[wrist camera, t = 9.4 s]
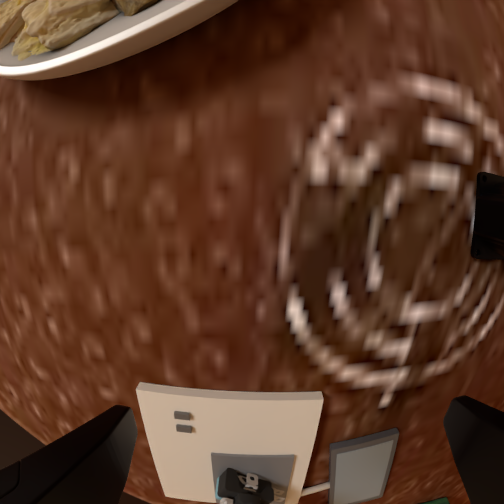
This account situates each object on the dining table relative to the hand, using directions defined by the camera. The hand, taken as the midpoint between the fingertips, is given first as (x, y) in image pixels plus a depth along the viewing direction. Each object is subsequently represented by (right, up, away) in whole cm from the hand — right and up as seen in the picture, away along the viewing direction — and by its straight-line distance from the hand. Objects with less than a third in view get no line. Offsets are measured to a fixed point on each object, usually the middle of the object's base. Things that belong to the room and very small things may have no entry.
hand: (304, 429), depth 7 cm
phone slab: (+10, -18, +17) cm, 27 cm away
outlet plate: (-3, -14, +16) cm, 22 cm away
